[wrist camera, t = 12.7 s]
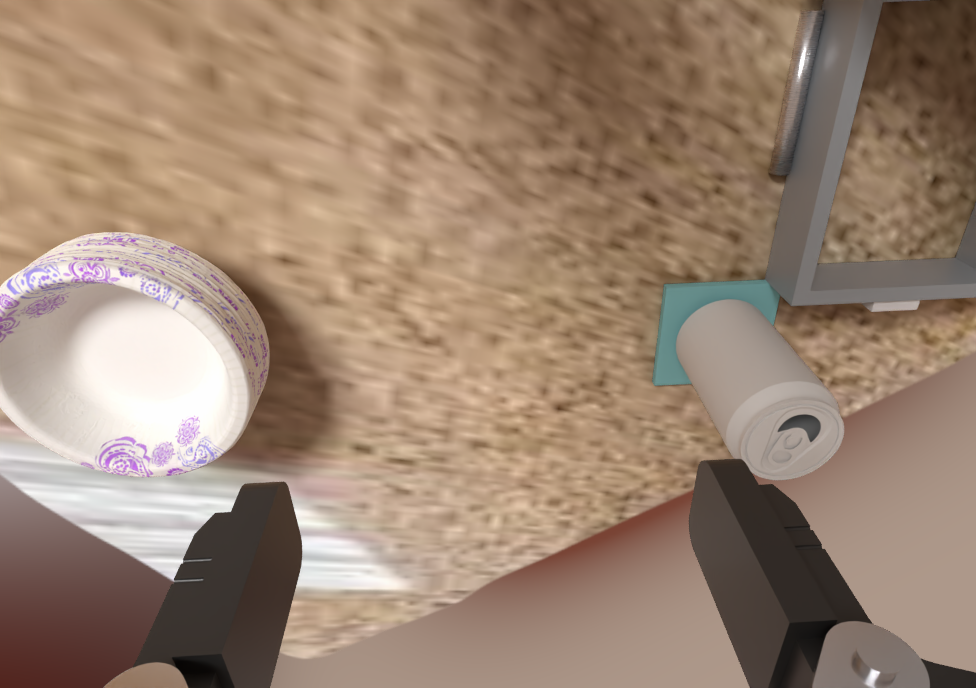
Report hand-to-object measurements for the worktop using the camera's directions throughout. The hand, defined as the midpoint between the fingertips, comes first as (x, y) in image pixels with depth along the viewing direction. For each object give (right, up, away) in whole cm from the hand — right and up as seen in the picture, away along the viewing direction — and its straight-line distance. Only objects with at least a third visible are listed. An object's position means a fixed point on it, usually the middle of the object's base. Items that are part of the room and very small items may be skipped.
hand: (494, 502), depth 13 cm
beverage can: (+16, +4, +33) cm, 37 cm away
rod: (+18, +18, +25) cm, 36 cm away
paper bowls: (-22, +5, +31) cm, 38 cm away
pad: (+16, +4, +33) cm, 37 cm away
